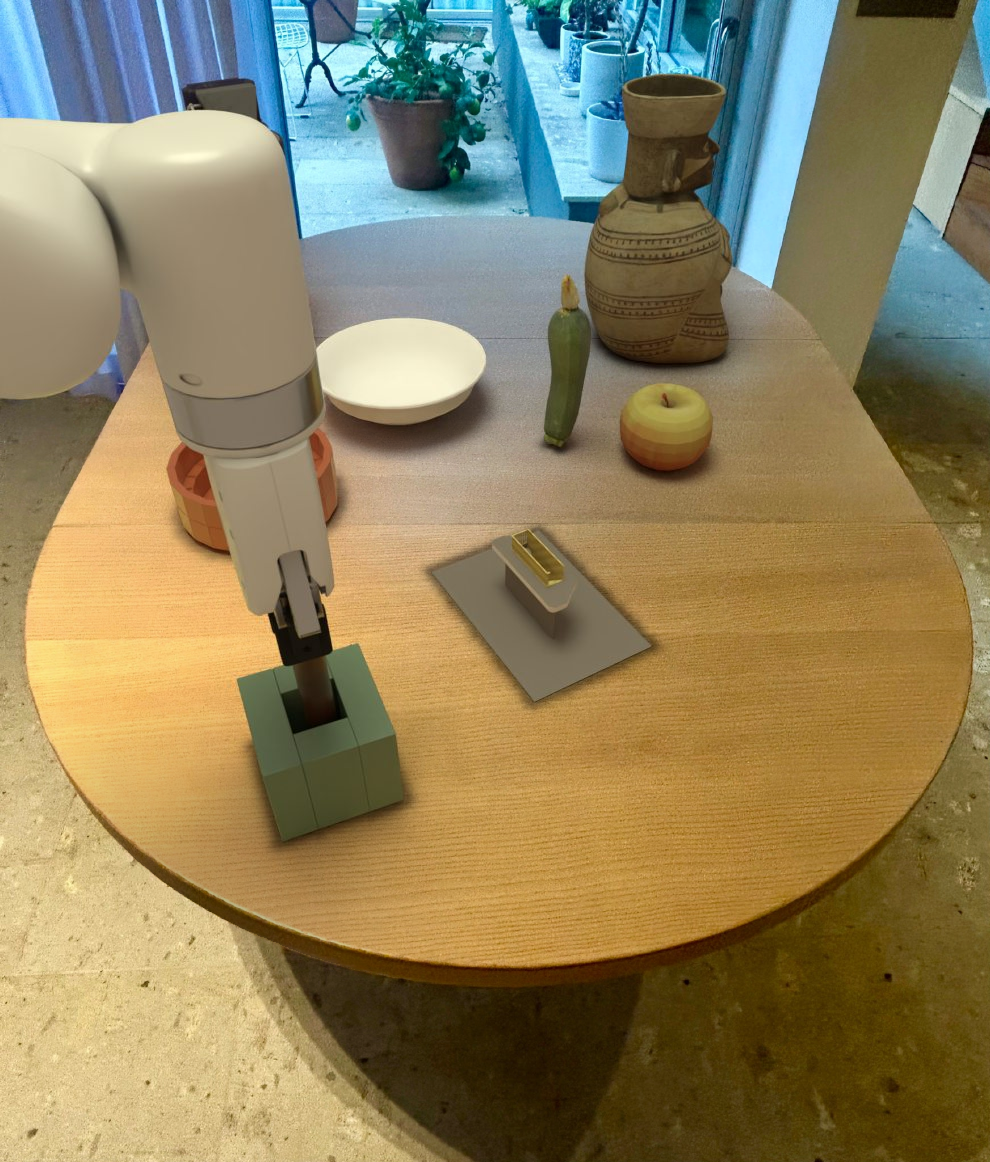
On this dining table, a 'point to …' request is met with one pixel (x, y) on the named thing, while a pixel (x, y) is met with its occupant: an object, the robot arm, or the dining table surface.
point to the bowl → (400, 369)
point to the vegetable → (566, 364)
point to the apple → (666, 426)
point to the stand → (322, 746)
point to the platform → (539, 613)
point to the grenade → (226, 99)
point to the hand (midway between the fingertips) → (302, 640)
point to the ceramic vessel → (662, 230)
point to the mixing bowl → (199, 499)
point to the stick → (314, 690)
